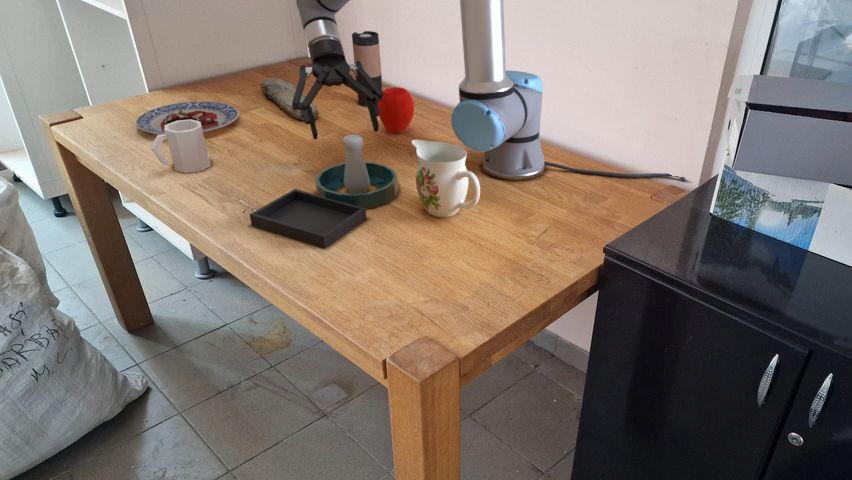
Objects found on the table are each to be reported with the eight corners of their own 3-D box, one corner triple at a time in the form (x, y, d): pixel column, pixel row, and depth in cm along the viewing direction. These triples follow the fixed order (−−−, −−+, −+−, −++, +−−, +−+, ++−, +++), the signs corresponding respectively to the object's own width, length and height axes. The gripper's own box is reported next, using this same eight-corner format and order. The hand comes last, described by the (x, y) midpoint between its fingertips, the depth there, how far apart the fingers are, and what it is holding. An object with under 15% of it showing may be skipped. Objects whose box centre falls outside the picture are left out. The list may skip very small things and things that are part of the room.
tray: (366, 219, 136) (365, 208, 135) (325, 248, 126) (323, 236, 125) (296, 199, 143) (294, 188, 141) (251, 225, 133) (249, 214, 131)
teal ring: (412, 185, 151) (411, 171, 149) (367, 216, 137) (365, 201, 135) (349, 169, 157) (348, 156, 155) (301, 198, 143) (298, 183, 141)
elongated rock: (293, 129, 181) (327, 124, 186) (292, 110, 178) (326, 106, 183) (253, 87, 204) (285, 85, 209) (251, 71, 201) (283, 68, 206)
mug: (202, 155, 161) (193, 117, 155) (217, 166, 156) (208, 127, 150) (152, 168, 154) (140, 128, 148) (165, 180, 149) (154, 139, 143)
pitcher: (461, 234, 132) (461, 171, 125) (398, 207, 141) (394, 147, 134) (494, 214, 140) (496, 154, 132) (432, 190, 149) (430, 132, 141)
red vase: (405, 140, 173) (403, 95, 166) (372, 135, 176) (368, 90, 169) (421, 128, 181) (419, 84, 174) (389, 123, 184) (386, 79, 177)
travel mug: (378, 108, 194) (373, 38, 183) (353, 105, 195) (347, 36, 184) (387, 100, 200) (382, 32, 189) (363, 97, 201) (357, 30, 190)
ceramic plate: (252, 130, 175) (250, 120, 174) (148, 149, 163) (145, 138, 161) (226, 103, 193) (224, 93, 191) (130, 118, 181) (127, 107, 179)
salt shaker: (349, 199, 144) (342, 143, 137) (341, 188, 148) (335, 134, 141) (374, 194, 146) (369, 139, 139) (366, 184, 150) (361, 130, 143)
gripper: (376, 51, 156) (398, 133, 153) (268, 59, 147) (288, 147, 144) (381, 33, 149) (403, 119, 146) (267, 41, 140) (289, 132, 137)
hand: (346, 133), depth 145 cm, fingers open, 13 cm apart
